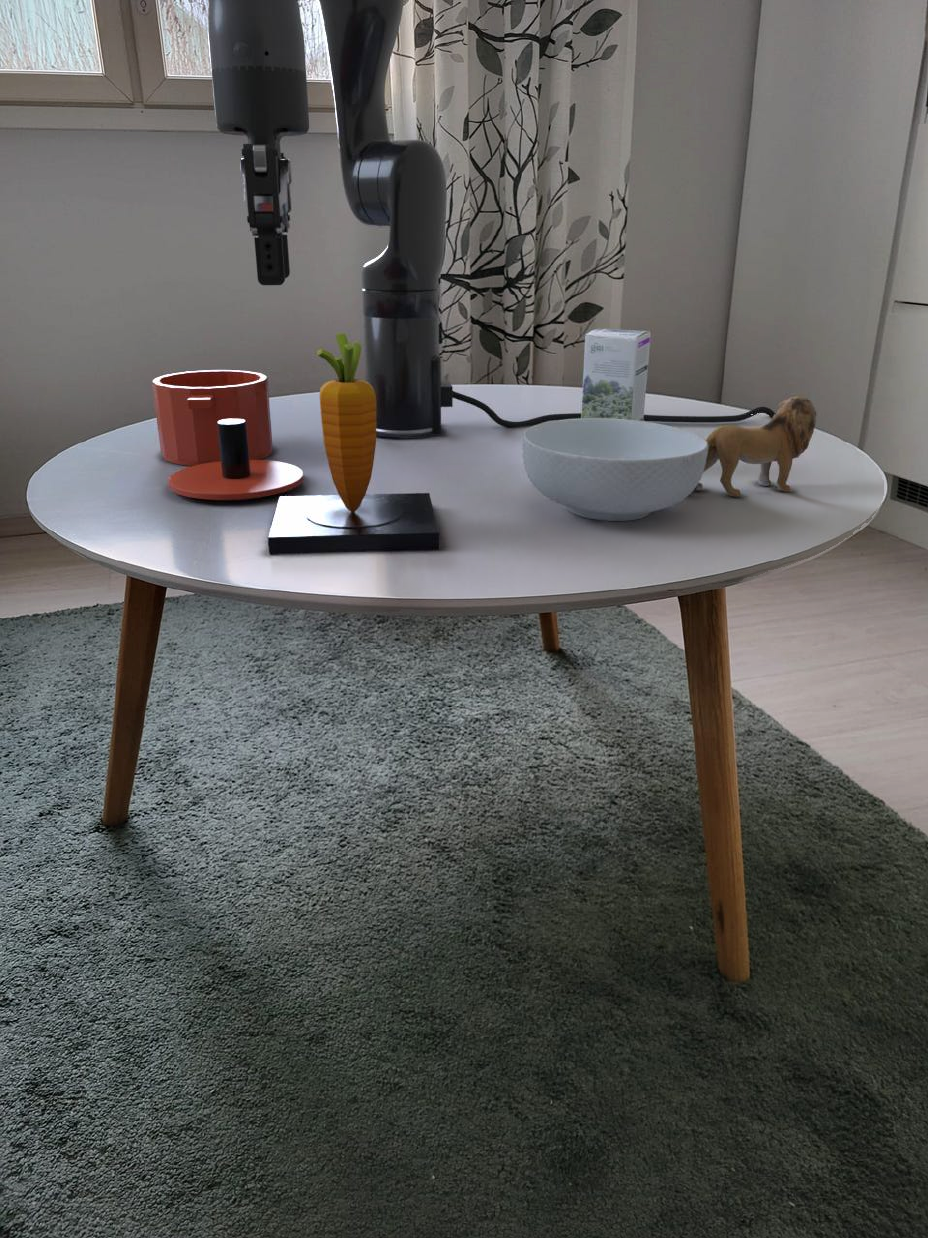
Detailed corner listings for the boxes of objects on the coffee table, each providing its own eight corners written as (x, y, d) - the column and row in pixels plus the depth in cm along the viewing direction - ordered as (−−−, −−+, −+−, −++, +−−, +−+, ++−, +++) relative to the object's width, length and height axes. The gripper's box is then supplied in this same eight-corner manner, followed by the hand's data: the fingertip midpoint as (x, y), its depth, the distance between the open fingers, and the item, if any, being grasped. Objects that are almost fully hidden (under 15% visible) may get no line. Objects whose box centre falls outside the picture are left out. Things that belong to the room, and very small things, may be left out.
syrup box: (641, 463, 105) (652, 329, 99) (627, 475, 100) (637, 335, 94) (593, 458, 107) (600, 326, 101) (576, 469, 102) (583, 332, 96)
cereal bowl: (575, 547, 78) (580, 464, 76) (491, 496, 92) (492, 424, 90) (738, 523, 85) (748, 446, 82) (636, 479, 99) (642, 412, 96)
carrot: (371, 522, 79) (365, 339, 73) (316, 518, 80) (305, 337, 74) (387, 505, 84) (382, 332, 78) (335, 502, 85) (326, 330, 79)
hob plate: (429, 507, 89) (429, 491, 88) (439, 549, 78) (439, 531, 77) (280, 511, 87) (279, 495, 87) (269, 554, 76) (267, 536, 76)
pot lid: (307, 469, 102) (303, 407, 99) (300, 504, 90) (295, 434, 87) (181, 471, 101) (174, 409, 98) (157, 507, 88) (148, 437, 86)
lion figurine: (782, 475, 100) (795, 390, 97) (819, 488, 96) (834, 399, 92) (672, 491, 94) (680, 401, 91) (706, 505, 90) (716, 411, 86)
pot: (278, 435, 117) (272, 365, 114) (265, 471, 101) (258, 391, 97) (177, 437, 116) (168, 367, 112) (147, 473, 100) (136, 393, 96)
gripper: (303, 55, 69) (316, 287, 76) (308, 79, 82) (319, 275, 88) (199, 53, 68) (222, 288, 75) (221, 77, 81) (239, 276, 88)
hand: (275, 281), depth 82 cm, fingers open, 8 cm apart
